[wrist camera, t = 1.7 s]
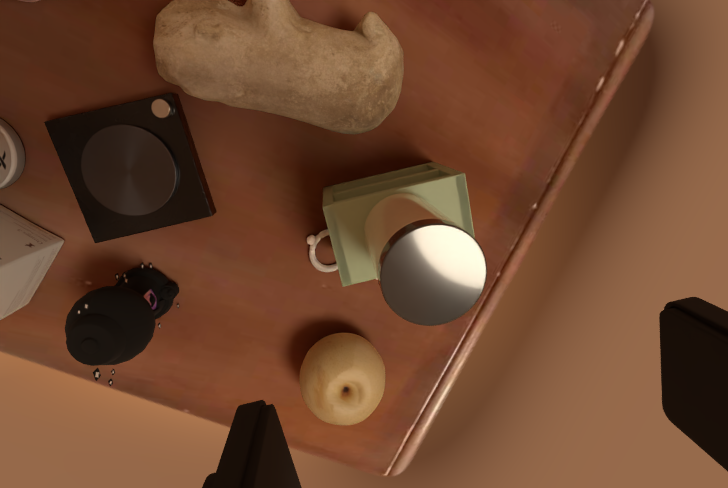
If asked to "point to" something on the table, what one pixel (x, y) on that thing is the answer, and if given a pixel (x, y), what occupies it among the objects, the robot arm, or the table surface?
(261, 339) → the table surface
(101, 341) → the gumball machine
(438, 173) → the green box
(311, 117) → the sculpture
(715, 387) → the robot arm
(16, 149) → the travel mug
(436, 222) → the jar
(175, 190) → the hot plate
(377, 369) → the apple
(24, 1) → the smoothie
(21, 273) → the white packaging box
